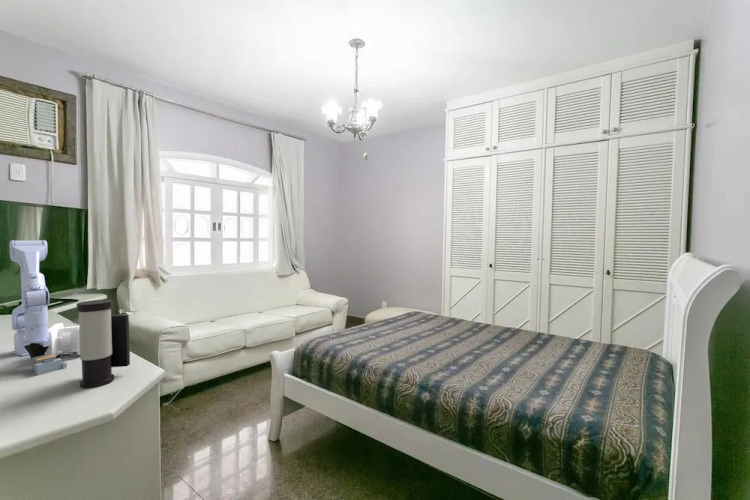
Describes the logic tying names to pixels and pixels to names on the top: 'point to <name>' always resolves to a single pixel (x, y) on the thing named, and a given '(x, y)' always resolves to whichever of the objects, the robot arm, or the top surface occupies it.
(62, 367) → the rail
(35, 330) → the robot arm
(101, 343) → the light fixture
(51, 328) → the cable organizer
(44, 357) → the module
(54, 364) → the end clamp
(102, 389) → the top surface
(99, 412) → the top surface
